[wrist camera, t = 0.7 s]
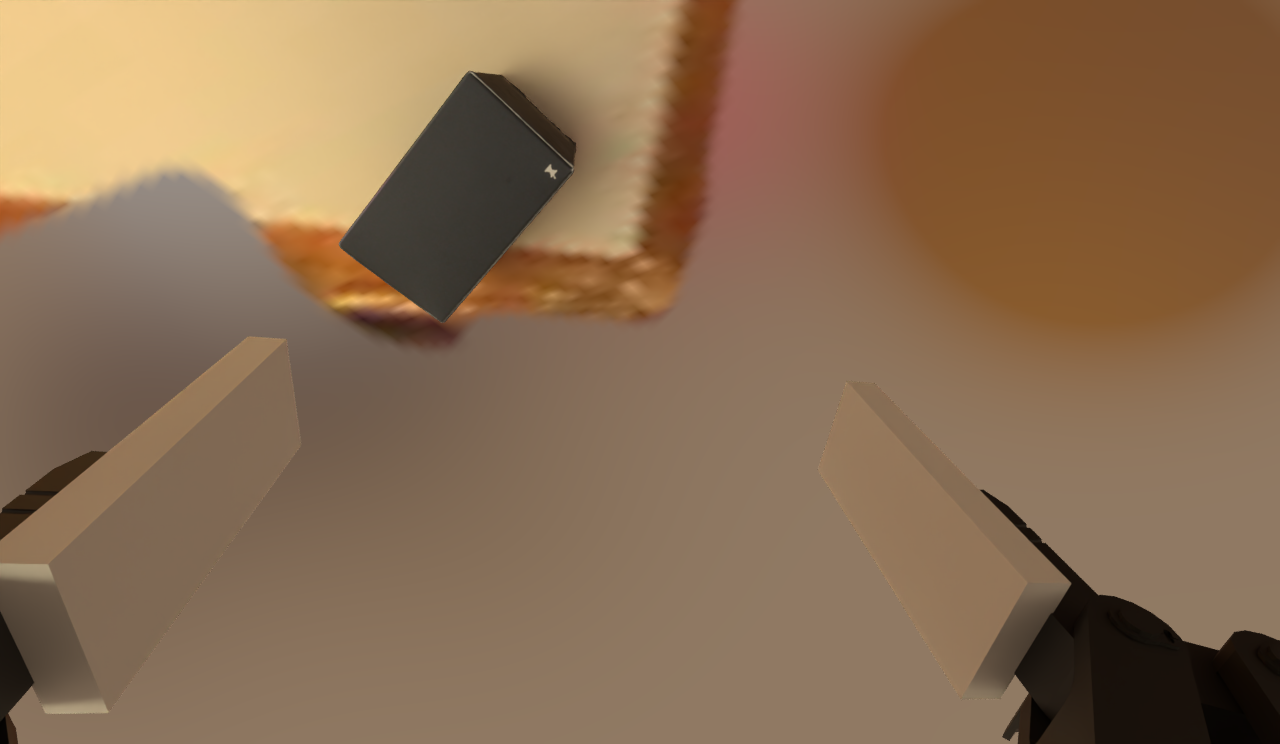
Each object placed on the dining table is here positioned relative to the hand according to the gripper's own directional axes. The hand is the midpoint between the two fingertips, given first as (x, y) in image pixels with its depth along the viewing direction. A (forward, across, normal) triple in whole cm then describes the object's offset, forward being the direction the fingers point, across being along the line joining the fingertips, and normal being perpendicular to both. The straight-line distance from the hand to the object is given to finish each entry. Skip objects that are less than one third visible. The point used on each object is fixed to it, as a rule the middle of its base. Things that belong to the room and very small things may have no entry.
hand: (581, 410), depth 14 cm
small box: (+27, -6, +1) cm, 28 cm away
